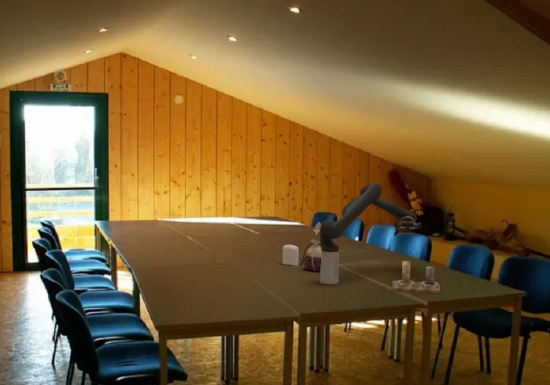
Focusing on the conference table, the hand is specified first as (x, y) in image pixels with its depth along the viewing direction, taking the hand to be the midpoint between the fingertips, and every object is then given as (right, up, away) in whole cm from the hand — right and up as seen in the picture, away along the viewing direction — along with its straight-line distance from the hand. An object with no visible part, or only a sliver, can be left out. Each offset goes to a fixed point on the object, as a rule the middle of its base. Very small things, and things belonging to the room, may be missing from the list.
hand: (407, 226), depth 335 cm
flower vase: (-40, -26, +56) cm, 73 cm away
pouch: (-48, -28, +27) cm, 62 cm away
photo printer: (-63, -26, +45) cm, 82 cm away
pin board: (+1, -31, -16) cm, 35 cm away
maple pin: (-4, -29, -14) cm, 33 cm away
